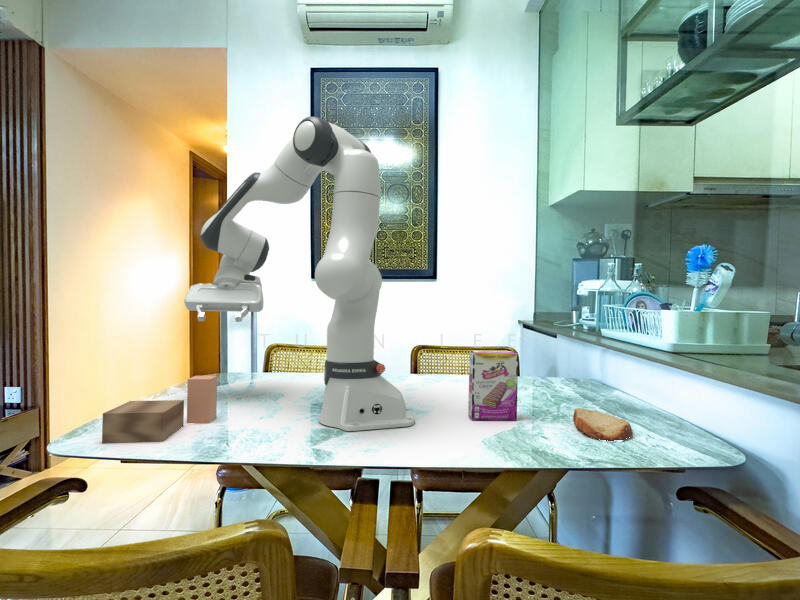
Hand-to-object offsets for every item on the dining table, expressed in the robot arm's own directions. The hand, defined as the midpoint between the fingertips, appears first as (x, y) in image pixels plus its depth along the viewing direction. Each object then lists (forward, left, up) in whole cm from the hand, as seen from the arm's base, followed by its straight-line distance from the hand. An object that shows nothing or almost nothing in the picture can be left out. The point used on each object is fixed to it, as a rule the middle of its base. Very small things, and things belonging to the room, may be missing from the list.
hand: (219, 319), depth 113 cm
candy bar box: (-69, +17, -23) cm, 75 cm away
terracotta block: (0, +13, -23) cm, 26 cm away
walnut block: (+8, +23, -23) cm, 34 cm away
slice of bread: (-90, +27, -23) cm, 97 cm away
